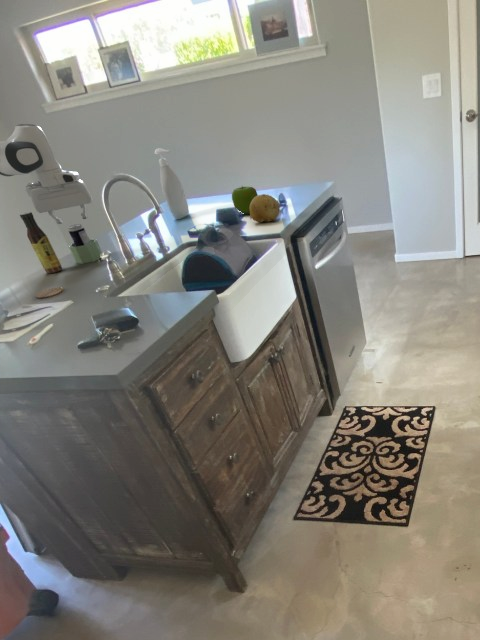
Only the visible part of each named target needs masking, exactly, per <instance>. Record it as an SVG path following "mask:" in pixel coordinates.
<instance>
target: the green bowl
mask: <svg viewBox="0 0 480 640" xmlns="http://www.w3.org/2000/svg"><path fill="white" fill-rule="evenodd" d="M89 240H90V242H91V243H89V244H87V245H83V246H78V247H76V246H75V244H74V242H73V243H71V244H70V245H69V246H68V248H69V250H70V252H71V253H72V256H73V258H74V260H75V262H76V264H80V265H81V264H83V265H84V264H88V263H94V262H96V261H99V260H100V259H99V258H100V254H101V253H103V251H102V249H101V246H100V244H99V242H98V240H97V239H96V238H89Z"/></svg>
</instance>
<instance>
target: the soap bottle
mask: <svg viewBox="0 0 480 640" xmlns="http://www.w3.org/2000/svg"><path fill="white" fill-rule="evenodd" d="M170 152H171V149H164V148H161V147H158V148H156V149H155V150H154V155H158V156H159V157H160V158H159V159H158V164H159V167H160V168H159V169H160V171H159V172H160V173H159V178H160V187H161V191H162V194H163V197H164V200H165V202H166V205H167V207H168V210H169V212H170V214H171V216H172V217H173V218H174V220H181V219H184V218H186V217H187V216H188V215H189V213H190V211H189V205H188V200H187V196H186V193H185V190H184V187H183V185H182V183H181V181H180V179H179V177H178V175H177V174H176V172H175V171H174V170H173V169H172V168H171V166H170V165H169V162H168V159H167V158H166V157H164V156H163V154H167V153H170Z"/></svg>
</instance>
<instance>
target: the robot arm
mask: <svg viewBox="0 0 480 640" xmlns="http://www.w3.org/2000/svg"><path fill="white" fill-rule="evenodd" d="M54 151H55V150H54V149H53V147H52V145H51V142H50V141H49V139H48V137H47V136H46V134H45V132H44V130H42V128H41V127H40V126H38V125H36V124H33V123H25V124H23V123H22V124H21V123H20V124H17V125H15V126H14V130H13V132H12V134H11V135H10V136H9V137H8V138H7V139H6V140H4V141H2V140H1V141H0V176H3V177H13V176H21V175H22V176H23V175H28V174H30V173H32V172H34V173H35V175H36V177H37V179H38V181H35V182H28V183H27V185H26V186H25V192H26V194H27V195H28V197H29V198H30V199H31V202H32V204H33V206H34V209H35V211H36V212H37V213H39V214H43V213H47V212H48V215H49V216H50V217H51V218H52V219H54V221H55V222H56V224H57V225H62V224H63V221H62V219H61V217H57V216H56V215H55V211H59V210H63V209H68V208H72V207H79V206H80V208H81V209H82V213H80V216H81V217H82V218H81V219H83V220H86V219H88V215H87V205H88V204H89V205H90V204H92V203H93V201H94V198H93V196H92V193H91V191H90V190H89V188H88V186H87V185H86V183H85V182H84V181H83V180H81V176H80V174H79V173H78V172H77V171H70V170H65V169H64V170H63V169H62V168H63V167H62V166H61V164H60V163H59V162H58V160H57V159H56V155H55V152H54Z"/></svg>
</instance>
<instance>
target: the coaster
mask: <svg viewBox="0 0 480 640" xmlns="http://www.w3.org/2000/svg"><path fill="white" fill-rule="evenodd" d="M64 290H65V289H64V287H62V286H61V287H60V286H55V287H51V288H48V289H44V290H41V291H39V292H38V293H36V294H35V298H36V299H47V298H51V297H55V296H57V295H59V294H61V293H63V292H64Z"/></svg>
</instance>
